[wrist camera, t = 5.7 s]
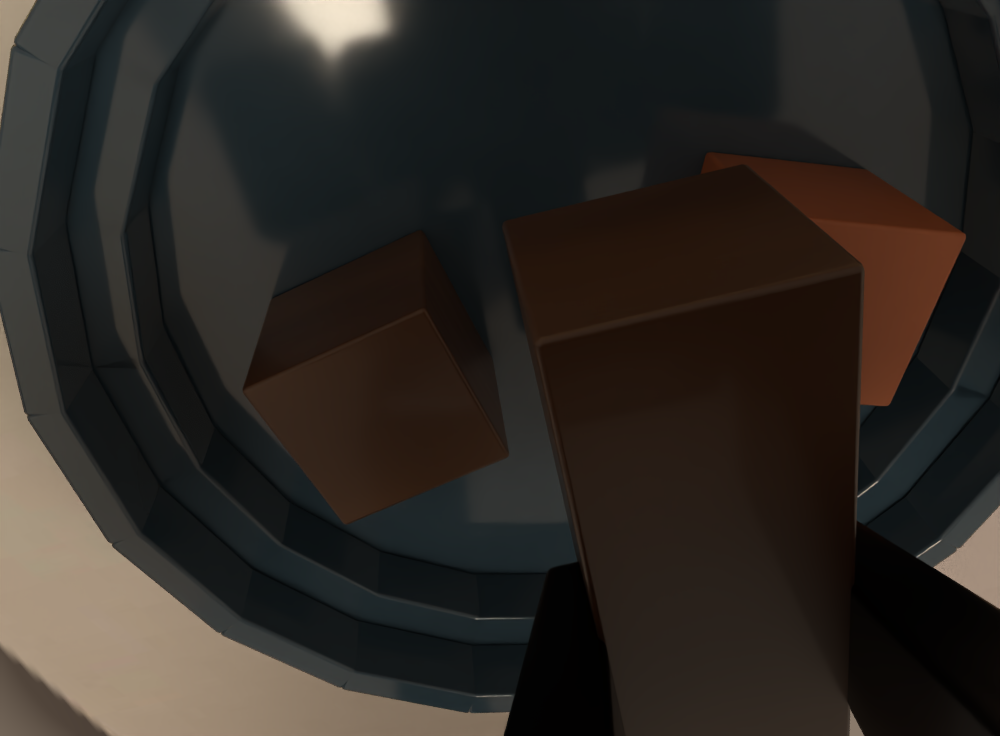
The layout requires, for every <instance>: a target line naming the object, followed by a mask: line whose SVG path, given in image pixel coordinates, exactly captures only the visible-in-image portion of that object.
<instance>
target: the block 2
mask: <svg viewBox="0 0 1000 736" xmlns="http://www.w3.org/2000/svg"><path fill="white" fill-rule="evenodd" d="M741 164H745V165H748V166H749V167H750V168H751V169H752V170H754V171H755V172H756V173H757V174H758V175H759V176H761V177H762V178H763V179H764V180H765V181H766V182H768V183H769V184H770V185H771V186H772V187H773V188H775V189H776V190H777V191H778V192H779V193H780V194H781V195H783V196H784V197H785V198H786V199H787V200H788V201H790V202H791V203H792V204H793V205H794V206H795V207H797V208H798V209H799V210H800V211H801V212H802V213H804V214H805V215H806V216H807V217H808V218H809V219H811V220H812V221H813V222H814V223H815V224H816V225H817V226H819V227H820V228H821V229H822V230H823V231H824V232H826V233H827V234H828V235H829V236H830V237H831V238H833V239H834V240H835V241H836V242H837V243H838V244H840V245H841V246H842V247H843V248H844V249H845V250H847V251H848V252H849V253H850V254H851V255H852V256H853V257H855V258H856V259H857V260H858V261H859V262H860V263H862V265H863V267H864V270H865V279H864V309H863V340H862V370H861V400H860V405H875V406H888V405H889V404H890V403H891V401H892V398H893V396H894V394H895V392H896V390H897V388H898V385H899V383H900V381H901V379H902V377H903V374H904V372H905V370H906V368H907V366H908V364H909V361H910V359H911V357H912V355H913V353H914V351H915V348H916V346H917V344H918V342H919V340H920V337H921V335H922V333H923V331H924V329H925V327H926V324H927V322H928V320H929V318H930V316H931V314H932V311H933V309H934V307H935V305H936V303H937V300H938V298H939V296H940V294H941V292H942V290H943V287H944V285H945V283H946V281H947V279H948V276H949V274H950V272H951V270H952V268H953V266H954V263H955V261H956V259H957V257H958V255H959V253H960V250H961V248H962V246H963V244H964V242H965V239H966V235H965V234H964V233H963V232H961V231H960V230H958V229H957V228H955V227H954V226H952V225H951V224H949V223H948V222H946V221H945V220H943V219H942V218H940V217H939V216H937V215H935V214H934V213H932V212H931V211H929V210H928V209H926V208H925V207H923V206H922V205H920V204H919V203H917V202H916V201H914V200H913V199H911V198H909V197H908V196H906V195H905V194H903V193H902V192H900V191H899V190H897V189H896V188H894V187H893V186H891V185H890V184H888V183H887V182H885V181H883V180H882V179H880V178H879V177H877V176H876V175H874V174H873V173H871V172H870V171H868V170H866V169H858V168H849V167H840V166H831V165H822V164H813V163H804V162H795V161H786V160H777V159H769V158H760V157H751V156H742V155H733V154H724V153H715V152H709V153H707V154H706V156H705V160H704V163H703V167H702V171H701V174H703V173H707V172H711V171H716V170H720V169H724V168H728V167H732V166H736V165H741Z"/></svg>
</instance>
